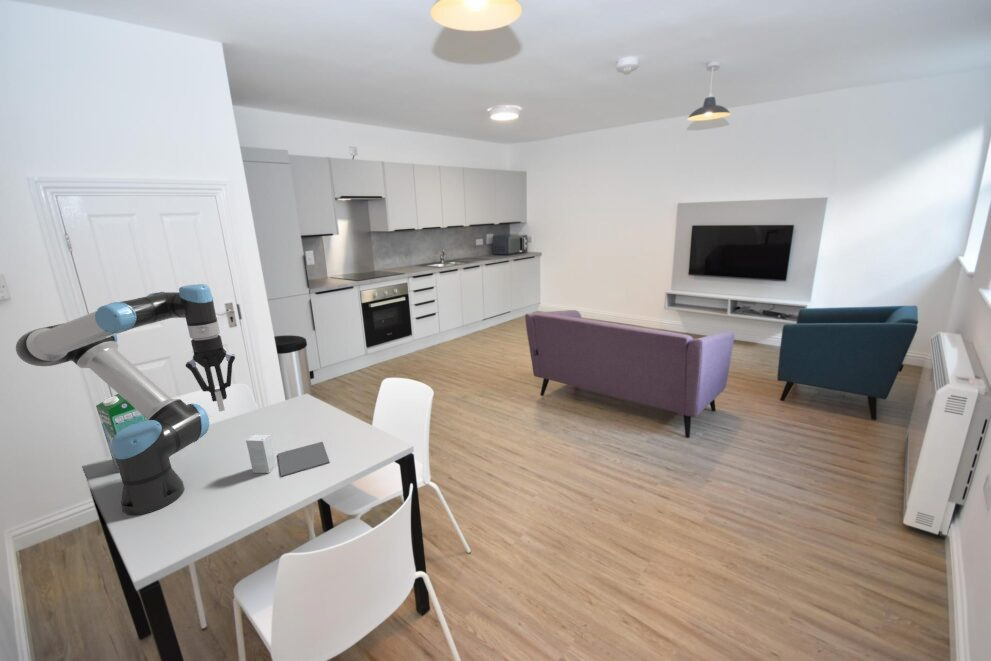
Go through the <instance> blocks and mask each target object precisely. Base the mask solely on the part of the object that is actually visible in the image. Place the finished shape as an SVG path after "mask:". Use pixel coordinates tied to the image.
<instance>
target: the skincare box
mask: <svg viewBox="0 0 991 661" xmlns="http://www.w3.org/2000/svg"><path fill="white" fill-rule="evenodd" d="M245 442H246V446H247V447H246V448H247V450H248V454H249V455H248V457H249V460H250V464H251V465H250V466H251V469H252V472H253V473H254V474H266V473H267V474H271V472H272V471H273V470H274V469H275V468H276V467H277V462H276V457H275V452H274V448H273V442H272V438H271V435H270V434H253V435H251V436H250V437H249V438H247V439H246V440H245Z"/></svg>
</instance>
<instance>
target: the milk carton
mask: <svg viewBox="0 0 991 661" xmlns="http://www.w3.org/2000/svg"><path fill="white" fill-rule="evenodd" d="M95 407H96V410H97V415H98V418H99V420H100V424H101V427H102V430H103V433H104V436H105V438H106V439H105V440H106V442H107V446H108V449H109V453H110V456H111V459H112V463H113V465H115V466H116V467H118V466H117V463H116V459H115V457H114V456H113V449H112V439H113V438H114V436H115V435H116V434H117V433H118V432H120V431H121V430H122V429H124V428H126V427H128V426H130V425H132V424H137V423H139V422H142V421H146V418H145V417H144V416H143V415H142V414H141V413H140V412H139V411H137V410H136V409H135V408H134V407H133V406H132V405H131V404H129V403H128V402H127V401H126V400H125V399H124V398H123V397H122V396H120V395H119V394H118V393H117V394H115V395H113V396H111V397H108V398H106V399H104V401H102V402H100V403H98V404H97V405H95Z"/></svg>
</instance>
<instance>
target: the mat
mask: <svg viewBox="0 0 991 661" xmlns="http://www.w3.org/2000/svg"><path fill="white" fill-rule="evenodd" d="M277 456H278V457H277V458H278V464H279V470H280V477H281V478H284V477H286V476H290V475H294V474H297V473H300V472H303V471H308V470H310V469H315V468H317V467H321V466H323V465H328V464H330V463H331V462H330V459H329V456H328V454H327V451H326V447H325V445H324V442H323V441H320V442H315V443H313V444H308V445H304V446H300V447H297V448H294V449H290V450H286V451H283V452H282V451H281V452H279V453H277Z"/></svg>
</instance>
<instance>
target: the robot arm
mask: <svg viewBox="0 0 991 661" xmlns="http://www.w3.org/2000/svg"><path fill="white" fill-rule="evenodd" d="M96 309H97V310H96V311H92V312H90V313H88V314H85V315H83V316H80V317H77V318H75V319H71V320H69V321H66V322H64V323H58V324H55V325H49V326H45V327H40V328H37V329H33V330H31V331H28V332H27V333H24V334H23V335H22V336H21V337H20V338H19V339H18V340H17V342H16V345H15V352H16V355H17V356H18V357H19V359H21V361H23V362H25V363H27V364H29V365H31V366H35V367H51V366H56V365H62V364H64V363H68V362H72V363H74V364H75V365H76V366H77V367H78V368H81V369H90V370H91V371H92V373H94V374H95V375H96V376H98V377H99V379H101V380H102V381H103V382H104V383H106V385H108V386H109V387H110V388H111V389H112V390H114V392H116V393H117V394H119V395H120V396H122V397H123V398H124V399H125V400H126V401H127V402H128V403H129V404H131V405H132V406H133V407H134V408H135V409H136V410H137V411H139V412H140V413H141V414H142V415H143V416H144V417H145V419H146V421H142V422H139V423H137V424H132V425H130V426H128V427H126V428H124V429H122V430H121V431H120V432H118V433H117V434H116V435H115V436H114V438H113V439H112V449H113V456H114V457H115V459H116V463H117V466H116V467H117V469H118V473H119V475H120V479H121V481H122V492H121V500H120V506H121V508H122V509H121V510H122V511H123V513H124V514H126V515H130V516H137V515H138V516H139V515H143V514H149V513H151V512H155V511H158V510H160V509H162V508H165V507H167V506H169V505H171V504H172V503H174V502H175V501H176V500H178V499H179V498H181V496H182V495H183V494H184V493H185V485H184V482H183V480H182V478H181V477H180V476H179V475H178V474H177V473H176V471H175V470H174V468H173V467H172V464H171V461H170V457H172V456H173V455H175V454H177V453H178V452H180V451H181V450H183V449H185V448H186V447H189V446H190V445H192V444H193V443H196V442H197V441H199V439H201V438H202V437H204V436H205V435H207V433H208V431H209V428H210V418H209V415H208V413H207V411H206V409H205V408H203V407H202V406H201V405H200V404H197V403H188V404H187V403H185V402H184V401H183V400H182V399H180V398H171V396H169V395H168V394H167V393H166V392H165V391H164V390H162V388H160V387H159V386H158V385H157V384H156V383H155V382H154V381H152V380H151V379H150V378H149V377H148V376H147V375H146V374H144V373H143V372H142V371H141V370H140V369H139V368H138V367H137V366H136V365H135V364H133V363H132V362H131V361H130V360H129V359H128V358H127V357H125V355H123V354H122V353H121V352H120V351H119V350H118V348H119V344H118V335H119V334H121V333H124V332H127V331H130V330H132V329H136V328H140V327H142V326H145V325H146V326H147V325H150V324H155V323H157V322H161V321H165V320H169V319H178V318H179V319H181V318H182V319H185V322H186V325H187V329H188V335H189V338H190V339H191V340H190V343H191V346H192V352H193V356H192V359H191V360H189V361H187V362H186V364H185V367H186V368H187V369H188V370H189V371H190V372H191V373H192V376H194V378H195V381H196V382H197V384H198V386H199V387H200V389H201V391H202V392H209V393H210V396H211V401H212V402H216V403H217V404H216V405H217V407H218V412H219V413H220V412H225V411H226V405H225V401H224V400H227V397H228V395H227V390H226V389H227V388H229V387H231V384H232V372H233V364H234V361H235V360H236V355H235V354H233V353H228V352H227V351H226V350H225V348H224V345H223V341H222V336H221V335H220V334H221V332H220V330H221V329H220V326H219V322H218V319H217V314H216V309H215V303H214V296H213V295H212V291H211V288H210V286H209V285H208V284H205V283H201V284H200V283H199V284H188V285H184V286H183V285H181V286H180V287H179V288H178V292H177V291H175V292H173V291H172V292H171V291H168V292H167V291H166V292H165V291H159V292H152V293H149V294H148V295H146V296H141V297H138V298H133V299H129V300H128V299H127V300H123V301H118V302H117V301H113V302H111V303H107V304H104V305H101V306H99V307H98V308H96ZM225 358H226V360H225ZM224 360H225V361H227V371H226V382H225V380H224V376H223V371H222V369H221V368H222V366H221V364H222V363H223V361H224ZM197 364H198V365H199V366H201V367H202V368H203V370H204V372H205V375H206V380H207V382H206V381H205V379H204V378H203V376H202V374H201V373H200V371H199V369H198V368H197ZM212 367H214V370H215V373H216V378H217V382H218V386H219V388H216V386H215V383H214V382H215V381H214V376H213V372H212ZM207 384H208V385H207Z"/></svg>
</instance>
